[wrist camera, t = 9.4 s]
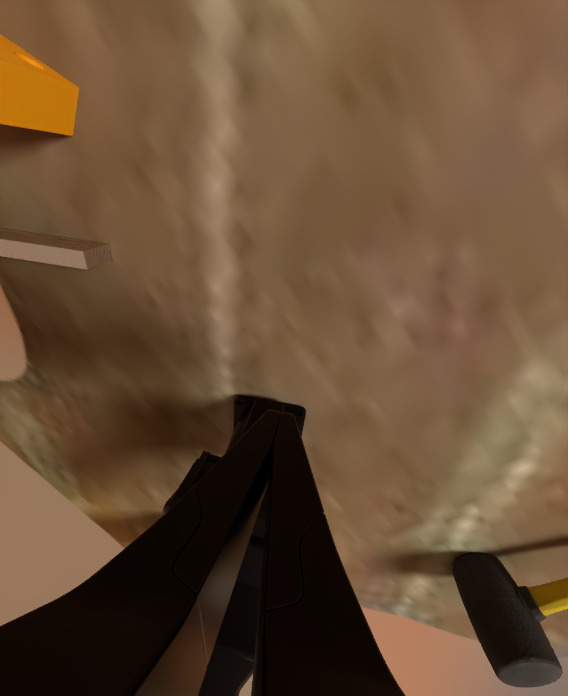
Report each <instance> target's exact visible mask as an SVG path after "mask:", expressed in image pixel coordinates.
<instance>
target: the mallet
mask: <svg viewBox="0 0 568 696" xmlns="http://www.w3.org/2000/svg"><path fill="white" fill-rule="evenodd" d="M452 571H453V575H454V578H455V581H456V584H457V587H458V590H459V593H460V596H461V598H462V601H463V604H464V606H465V609H466V611H467V613H468V616H469V619H470V621H471V623H472V626H473V628H474V630H475V633H476V635H477V637H478V639H479V641H480V643H481V646H482V648H483V650H484V652H485V654H486V656H487V658H488V660H489V662H490V664H491V666H492V668H493V670H494V672H495V674H496V676H497V677H498V678H499V679H500V680H501V681H502V682H503V683H506V684H508V685H511V686H515V687H539V686H544V685H547V684H550V683H552V682H554V681H556V680H557V679H559V678H560V677H561V675H562V667H561V665H560V663H559V661H558V659H557V657H556V655H555V653H554V650H553V648H552V647H551V645H550V642H549V640H548V638H547V637H546V635H545V633H544V630H543V628H542V626H541V625H540V622H541V621H542V620H544V619H545V618H546V615H549V614H552V613H555V612H558V611H561V610H565V609H568V578H565V579H561V580H558V581H554V582H550V583H546V584H542V585H538V586H534V587H529V588H528V587H526V586H520V587H518V586H517V584H516V583H515V581H514V580H513V578H512V577H511V575H510V574H509V573H508V571H507V570H506V568H505V567H504V566H503V564H502V563H501V561H500V560H499V559H498V558H496V557H495V556H493V555H490V554H486V553H472V554H468V555H465V556H463V557H461V558H459V559H458V560H457V561H456V562H455V563H454V565H453V569H452Z"/></svg>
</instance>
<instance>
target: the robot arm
mask: <svg viewBox="0 0 568 696" xmlns="http://www.w3.org/2000/svg"><path fill="white" fill-rule="evenodd" d="M240 401H242V402H240ZM299 412H302V413H299ZM305 415H306V410H305V408H303V407H300V406H295V405H289V404H284V403H278V402H273V401H267V400H262V399H257V398H251V397H246V396H237V397H236V399H235V401H234V433H233V436H232V438H231V441H230V443H229V446H228V448H227V451H226V453H225V454H224V455H223V457H219V456H215V455H212V454H211V453H210V452H206V451H203V453H202V455H201V456H200V458H199V459H197V460H196V461H195V463H193V465H192V467H191V469H190V471H189V472H188V474H187V475H186V477H185V479H184V480H183V482H182V483H181V485H180V487H179V488H178V489H177V491H176V492H175V493H174V494H173V495H172V496H171V497H170V498H169V500H168V501H167V502H166V504H165V506H164V509H163V513H164V516H162V517H161V518H160V519H159V520H158V521H157V522H156V523H154V524H153V525H152V526H151V527H150V528H149V529H148V530H146V531H145V532H144V533H143V534H142V535H140V536H139V537H138V538H137V539H136V540H134V541H133V542H132V543H131V544H130V545H128V546H127V547H126V548H125V549H124V550H123V551H122V552H120V553H119V554H118V555H117V556H115V557H114V558H113V559H112V560H111V561H109V562H108V563H107V564H106V565H105V566H104V567H102V568H101V569H100V570H99V571H97V572H96V573H95V574H94V575H93V576H91V577H90V578H89V579H87V580H86V581H85V582H83V583H82V584H81V585H79V586H78V587H76V588H75V589H73V590H71V591H70V592H68V593H66V594H65V595H63V596H61V597H60V598H58V599H56V600H54V601H52V602H50V603H48V604H45V605H43V606H41V607H39V608H37V609H36V610H33V611H31V612H29V613H27V614H25V615H23V616H21V617H18V618H16V619H14V620H12V621H10V622H8V623H6V624H4V625H2V626H0V696H239V692H240V690H241V688H242V687H243V686H244V684H245V683H246V682H247V680H248V679H249V678H250V677H251V675H252V674H253V681H252V692H251V696H405V694H404V693H403V691H402V690H401V688H400V687H399V685H398V684H397V682H396V680H395V679H394V677H393V675H392V673H391V672H390V670H389V668H388V666H387V664H386V662H385V660H384V658H383V656H382V654H381V652H380V650H379V648H378V646H377V644H376V641H375V639H374V637H373V634H372V632H371V630H370V627H369V625H368V623H367V621H366V618H365V616H364V614H363V611H362V609H361V607H360V604H359V602H358V600H357V597H356V595H355V593H354V590H353V588H352V586H351V583H350V581H349V579H348V577H347V574H346V572H345V569H344V567H343V564H342V562H341V559H340V557H339V554H338V552H337V549H336V546H335V543H334V540H333V537H332V534H331V532H330V529H329V525H328V522H327V519H326V516H325V514H324V510H323V506H322V503H321V500H320V497H319V493H318V490H317V487H316V484H315V480H314V477H313V474H312V471H311V467H310V464H309V461H308V458H307V454H306V451H305V448H304V444H303V441H302V438H301V436H302V431H303V425H304V420H305Z"/></svg>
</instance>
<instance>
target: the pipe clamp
mask: <svg viewBox="0 0 568 696" xmlns="http://www.w3.org/2000/svg"><path fill="white" fill-rule="evenodd" d="M78 92H79V87H77V86H76V85H74V84H73V83H71V82H70V81H68V80H67V79H65V78H64V77H63V76H61V75H60V74H58V73H57V72H55V71H54V70H52V69H51V68H49V67H48V66H46V65H45V64H44V63H42V62H41V61H39V60H38V59H36V58H35V57H33V56H32V55H30V54H29V53H27V52H26V51H24V50H23V49H22V48H20V47H19V46H17V45H16V44H14V43H13V42H11V41H10V40H8V39H7V38H5V37H4V36H2V35H1V34H0V124H4V125H10V126H16V127H22V128H28V129H34V130H40V131H46V132H52V133H58V134H64V135H70V136H73V130H74V122H75V115H76V107H77V100H78Z"/></svg>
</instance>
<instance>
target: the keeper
mask: <svg viewBox="0 0 568 696" xmlns="http://www.w3.org/2000/svg"><path fill="white" fill-rule="evenodd" d="M0 256H3V257H10V258H16V259H23V260H29V261H36V262H42V263H48V264H55V265H61V266H68V267H74V268H81V269H87V270H88V269H91V268H93V267H96V266H99V265H102V264H104V263H107V262H110V261H112V257H111V252H110V247H109V244H105V243H98V242H92V241H85V240H78V239H71V238H64V237H57V236H50V235H44V234H37V233H30V232H23V231H16V230H9V229H2V228H0Z"/></svg>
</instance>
